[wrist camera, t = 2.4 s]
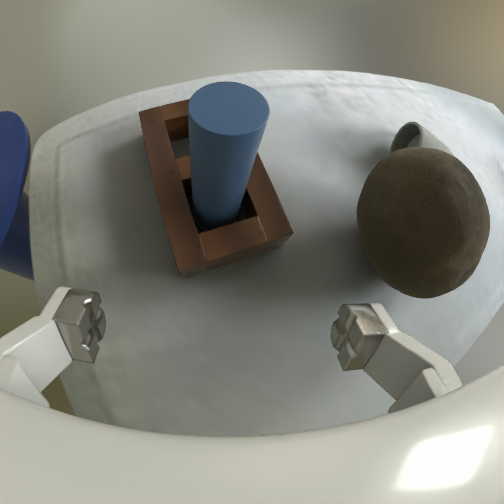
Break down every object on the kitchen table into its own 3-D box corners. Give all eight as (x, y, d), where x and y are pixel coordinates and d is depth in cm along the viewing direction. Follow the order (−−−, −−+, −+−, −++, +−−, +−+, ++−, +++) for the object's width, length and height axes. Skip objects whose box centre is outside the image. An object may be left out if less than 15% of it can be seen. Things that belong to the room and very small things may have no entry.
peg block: (182, 279, 25) (178, 271, 21) (143, 133, 29) (138, 111, 25) (281, 245, 28) (293, 233, 24) (224, 114, 31) (228, 92, 27)
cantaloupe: (414, 205, 33) (489, 153, 19) (423, 307, 29) (520, 286, 15) (327, 181, 31) (395, 97, 17) (327, 302, 27) (433, 275, 13)
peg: (201, 238, 27) (200, 143, 12) (188, 198, 27) (180, 88, 13) (243, 225, 28) (282, 127, 13) (229, 187, 29) (252, 77, 14)
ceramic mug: (430, 199, 34) (464, 176, 26) (390, 178, 33) (423, 148, 26) (423, 148, 37) (449, 123, 30) (385, 127, 36) (410, 97, 29)
